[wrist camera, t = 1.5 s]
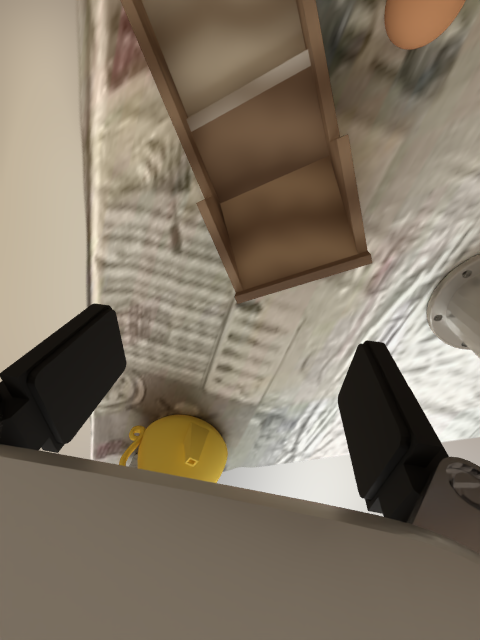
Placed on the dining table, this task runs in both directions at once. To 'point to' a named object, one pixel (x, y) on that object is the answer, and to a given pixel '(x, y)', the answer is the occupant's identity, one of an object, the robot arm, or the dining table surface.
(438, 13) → the ball
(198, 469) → the teapot
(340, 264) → the lane
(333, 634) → the robot arm
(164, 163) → the dining table surface
